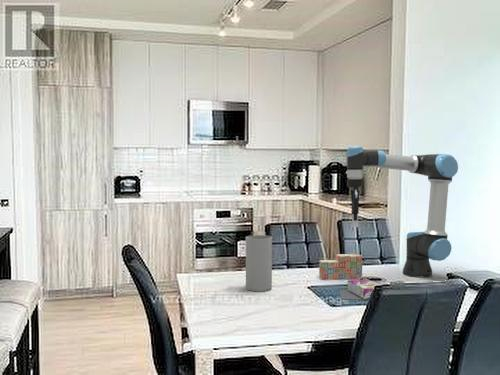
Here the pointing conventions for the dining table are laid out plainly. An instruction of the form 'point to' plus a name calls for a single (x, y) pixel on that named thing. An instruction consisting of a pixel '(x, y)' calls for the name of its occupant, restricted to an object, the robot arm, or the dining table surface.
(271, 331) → the dining table surface
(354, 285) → the candy bar box
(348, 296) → the mat
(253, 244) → the cylinder vase
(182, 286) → the dining table surface
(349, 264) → the stack of blocks
